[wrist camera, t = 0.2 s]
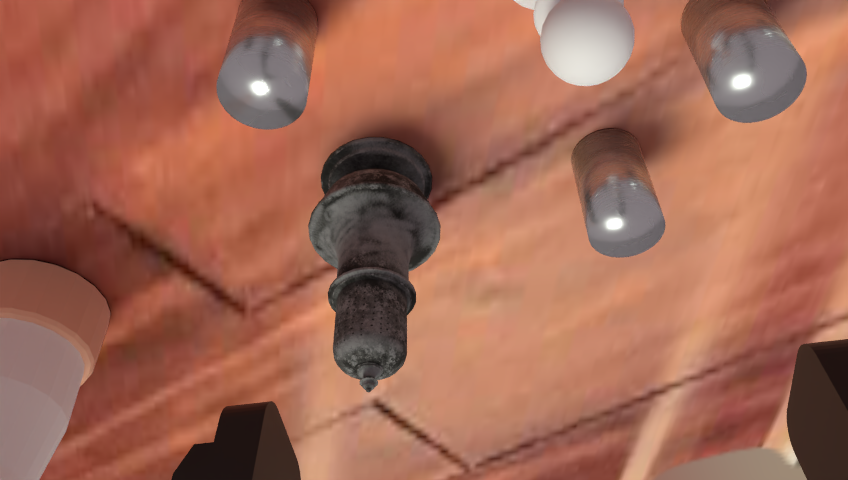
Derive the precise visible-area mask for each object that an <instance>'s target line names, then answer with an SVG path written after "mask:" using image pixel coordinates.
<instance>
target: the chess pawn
mask: <svg viewBox="0 0 848 480" xmlns="http://www.w3.org/2000/svg"><path fill="white" fill-rule="evenodd" d="M514 1H515V2H517V3H518V4H520V5H521V6H523V7H526V8H529V9H532V10H534V14H533V15H534V24H535V27H536V29H537V31H538V34H539V35H540V42H541V52H542V55H543V57H544V59H545V62H546V64H547V66H548V67H549V68H550V69H551V71H552V72H553V73H554V74H555V75H556V76H557V77H559V78H560V79H562V80H564V81H565V82H567V83H570V84H574V85H578V86H591V85H598V84H600V83H603V82H605V81H608V80H609V79H611V78H612V77H614V76H615V75H617V74H618V73H619V72H620V71H621V70H622V68H623V67H624V66H625V65H626V63H627V61H628V60H629V58H630V56H631V53H632V50H633V46H634V26H633V23H632V20H631V17H630V14H629V13H628V11H627V10H626V9H625V7H624V0H514Z"/></svg>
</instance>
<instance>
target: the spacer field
mask: <svg viewBox="0 0 848 480" xmlns="http://www.w3.org/2000/svg"><path fill="white" fill-rule="evenodd" d="M317 30H318V20H317V16H316V13H315V10H314V8H313V7H312V5H311V4H310V2H309V1H308V0H242V2H241V4H240V6H239V9H238V13H237V16H236V19H235V23H234V26H233V29H232V33H231V36H230V40H229V43H228V46H227V50H226V53H225V56H224V60H223V63H222V66H221V70H220V73H219V77H218V80H217V94H218V98H219V100H220V102H221V104H222V106H223V107H224V109H225V110H226V111H227V112H228V113H229V114H230V115H231V116H232V117H233V118H234V119H236V120H237V121H239V122H241V123H243V124H245V125H247V126H250V127H253V128H258V129H277V128H282V127H284V126H287V125H289V124H291V123H292V122H294V121H295V120H296V119H298V118H299V117H300V115H301V114H302V113H303V111H304V109H305V106H306V102H307V96H308V90H309V83H310V77H311V70H312V63H313V57H314V50H315V43H316V37H317ZM681 30H682V34H683V36H684V38H685V40H686V43H687V45H688V47H689V49H690V51H691V53H692V55H693V57H694V60H695V62H696V64H697V66H698V68H699V70H700V72H701V75H702V77H703V79H704V81H705V83H706V85H707V87H708V89H709V92H710V94H711V96H712V98H713V100H714V102H715V104H716V106H717V108H718V110H719V111H720V112H721V114H722V115H724V116H725V117H727V118H728V119H730V120H733V121H737V122H743V123H751V122H758V121H763V120H766V119H769V118H771V117H773V116H775V115H777V114H779V113H781V112H782V111H784V110H785V109H787V108H788V107H789V106H790V105H791V104H792V103H793V102H794V101H795V100H796V99H797V98H798V96H799V95H800V93H801V92H802V90H803V88H804V85H805V82H806V76H807V72H806V67H805V64H804V62H803V60H802V58H801V57H800V55H799V54H798V52H797V51H796V49H795V48H794V46H793V45H792V43H791V41H790V40H789V38H788V37H787V35H786V34H785V32H784V31H783V29H782V27H781V26H780V24H779V23H778V21H777V20H776V18H775V17H774V15H773V14H772V12H771V10H770V9H769V7H768V6H767V4H766V3H765V1H764V0H690V1H689V3H688V4H687V6H686V7H685V9H684V12H683V14H682V18H681ZM571 163H572V168H573V172H574V177H575V181H576V185H577V190H578V194H579V198H580V203H581V207H582V211H583V216H584V220H585V224H586V229H587V233H588V237H589V241H590V244H591V245H592V247H593V248H594V249H595V250H596V251H598V252H599V253H601V254H603V255H606V256H610V257H629V256H634V255H637V254H640V253H642V252H645V251H647V250H648V249H650V248H651V247H653V246H654V245H655V244H656V243H657V242H658V241H659V240H660V238H661V237H662V235H663V233H664V230H665V220H664V217H663V214H662V211H661V208H660V205H659V202H658V199H657V196H656V193H655V190H654V187H653V184H652V181H651V178H650V175H649V172H648V169H647V166H646V163H645V160H644V157H643V154H642V151H641V148H640V145H639V143H638V141H637V139H636V138H635V137H634V136H633V135H631V134H630V133H628V132H626V131H623V130H619V129H604V130H599V131H596V132H594V133H591V134H590V135H588V136H586V137H585V138H583V139H582V140H581V141H580V142H579V143H578V144H577V146H576V147H575V149H574V151H573V153H572V157H571Z"/></svg>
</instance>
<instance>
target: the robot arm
mask: <svg viewBox="0 0 848 480" xmlns="http://www.w3.org/2000/svg"><path fill="white" fill-rule="evenodd" d="M787 426H788V433H789V437H790V441H791V444H792V447H793V450H794V452H795V455H796V457H797V459H798V461H799V463H800V465H801V467H802V470H803V472H804V474H805V476H806V478H807V480H848V339H845V340H836V341H827V342H818V343H809V344H803V345H801V346H800V348H799V350H798V353H797V359H796V364H795V370H794V375H793V380H792V386H791V391H790V397H789V402H788V408H787ZM172 480H301V477H300V470H299V465H298V461H297V458H296V455H295V453H294V450H293V448H292V445H291V442H290V440H289V437H288V435H287V432H286V429H285V427H284V424H283V421H282V419H281V416H280V414H279V411H278V409H277V406H276V405H275V403H274V402H272V401H271V402H262V403H253V404H244V405H235V406H227V407H225V408H224V409H223V411H222V413H221V416H220V419H219V423H218V427H217V431H216V435H215V439H214V442H212V443H203V444H194V445H193V447H192V448H191V449H190V451H189V452H188V454H187V455H186V456H185V458H184V459H183V461H182V462H181V463H180V465H179V466H178V468H177V469H176V470H175V472H174V473H173V476H172Z"/></svg>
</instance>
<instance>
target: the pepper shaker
mask: <svg viewBox="0 0 848 480" xmlns="http://www.w3.org/2000/svg"><path fill="white" fill-rule="evenodd" d="M110 314H111V313H110V310H109V307H108V304H107V301H106V299H105V298H104V297H103V296H102V294H101V293H100V292H99V291H98V290H97V288H96V287H95V286H94V285H92V284H91V283H89V282H88V281H87V280H85V279H84V278H82V277H81V276H79V275H78V274H76V273H74V272H71V271H69V270H67V269H64V268H62V267H60V266H57V265H54V264H49V263H45V262H40V261H36V260H12V259H10V260H6V261H1V262H0V480H39V479H40V477H41V475H42V474H43V472H44V470H45V468H46V466H47V465H48V463H49V461H50V459H51V457H52V455H53V454H54V452H55V450H56V448H57V446H58V445H59V443H60V441H61V439H62V437H63V435H64V434H65V432H66V429H67V426H68V423H69V420H70V416H71V413H72V410H73V407H74V403H75V400H76V397H77V394H78V390H79V387H80V386H81V385H82V384H83V383H84V382H85V381H86V380H87V379H88V377H89V376H90V375H91V374H92V373H93V370H94V367H95V364H96V361H97V358H98V355H99V352H100V349H101V346H102V343H103V340H104V337H105V335H106V332H107V329H108V326H109V320H110Z"/></svg>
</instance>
